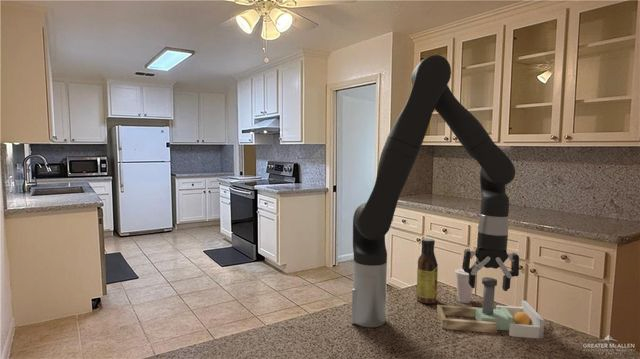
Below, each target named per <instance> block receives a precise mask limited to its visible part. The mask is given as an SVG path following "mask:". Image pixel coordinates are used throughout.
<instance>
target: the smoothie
mask: <svg viewBox="0 0 640 359" xmlns="http://www.w3.org/2000/svg"><path fill="white" fill-rule="evenodd" d="M454 274H455V280H456V281H455V283H456V293H457V301H458V302H459V303H462V304H470V303H471V299H472V294H473V289H474V288H471V286H470V285H469V283H468V280H469V273H467V272H465V271H464V270H463V269H462V268H456V269H455V270H454ZM475 275H476V276H477V273H476V274H475Z"/></svg>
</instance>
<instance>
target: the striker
mask: <svg viewBox="0 0 640 359" xmlns="http://www.w3.org/2000/svg"><path fill="white" fill-rule="evenodd" d="M481 284H482V285H483V295H482V297H483V298H482V307H476V308H475V317H474V319H475V321H487V322H496V323H497V331H509V327H510V323H511V324H514V318H513V316H512V315H511V314H510V313H509V311H508V310H507V309H506V308H503V307H501V309H496V308H494V307H495V290H496V287H497V285H498V280H497V279H496V278H493V277H482V278H481Z"/></svg>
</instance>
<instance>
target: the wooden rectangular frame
mask: <svg viewBox="0 0 640 359" xmlns="http://www.w3.org/2000/svg"><path fill="white" fill-rule="evenodd" d="M475 308H477V307H476V306H475V307H473V306H461V305H460V306H458V305H448V304H447V305H445V304H437V305H436V314H437V317H438V320H439V322H440V326H441V328H442V329H443V330H456V331H457V330H459V331H468V332H469V331H470V332H482V333H493V334H495V333H496V334H497V333H498V330H497V323H496V322H487V321H477V320H473V319H458V318H447V317H446V316H453V317H454V316H458V317H471V318H475Z"/></svg>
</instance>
